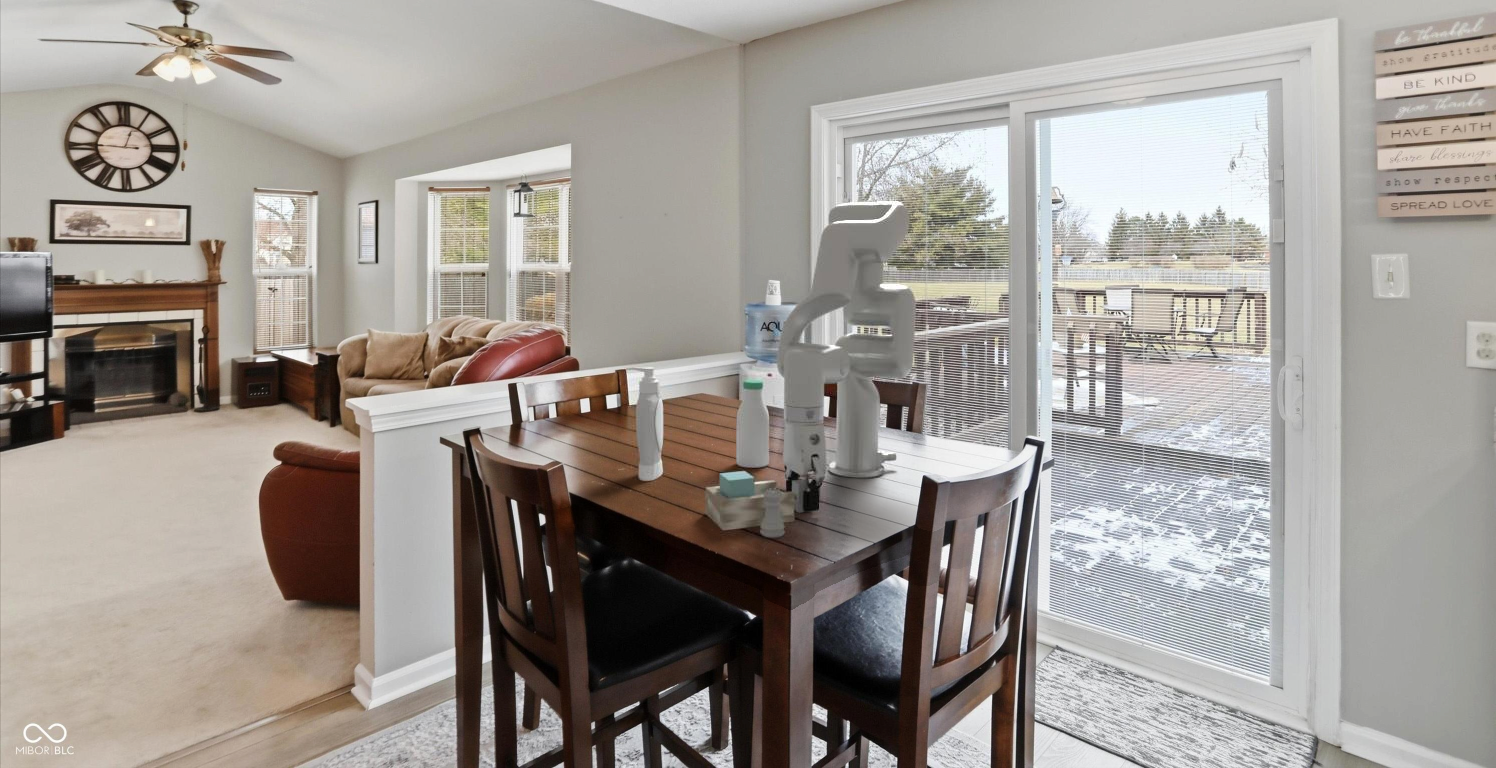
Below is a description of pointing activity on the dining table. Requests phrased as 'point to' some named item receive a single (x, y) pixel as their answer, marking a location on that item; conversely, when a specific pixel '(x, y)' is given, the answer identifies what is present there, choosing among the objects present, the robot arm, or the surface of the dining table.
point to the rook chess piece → (772, 515)
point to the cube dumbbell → (744, 486)
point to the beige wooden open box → (745, 507)
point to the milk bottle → (752, 427)
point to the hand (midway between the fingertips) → (802, 504)
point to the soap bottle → (649, 425)
